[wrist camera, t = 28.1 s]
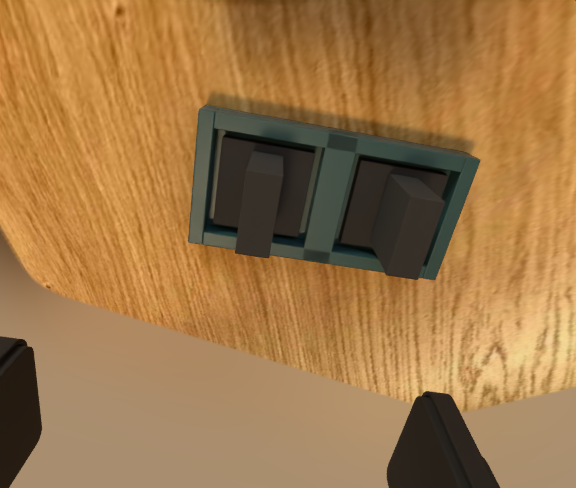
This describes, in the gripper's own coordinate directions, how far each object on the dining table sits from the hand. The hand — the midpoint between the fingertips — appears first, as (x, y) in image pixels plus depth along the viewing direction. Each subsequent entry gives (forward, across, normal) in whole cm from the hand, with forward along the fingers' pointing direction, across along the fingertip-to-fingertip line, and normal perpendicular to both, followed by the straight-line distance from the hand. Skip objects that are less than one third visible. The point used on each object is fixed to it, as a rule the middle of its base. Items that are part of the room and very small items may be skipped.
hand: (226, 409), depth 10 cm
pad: (+20, 0, 0) cm, 20 cm away
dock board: (+20, -4, 0) cm, 21 cm away
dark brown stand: (+20, -9, 0) cm, 22 cm away
